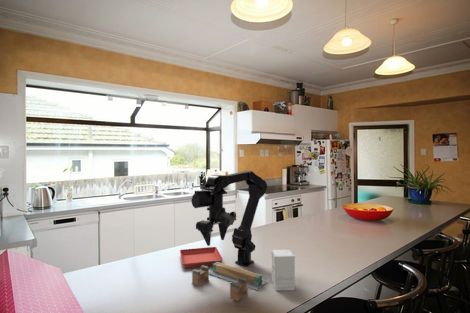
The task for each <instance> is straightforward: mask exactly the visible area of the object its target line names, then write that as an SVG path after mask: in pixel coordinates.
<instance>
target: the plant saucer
mask: <svg viewBox="0 0 470 313" xmlns="http://www.w3.org/2000/svg"><path fill="white" fill-rule="evenodd" d="M179 254H180V260H181V265H182V266H183V267H184V268H185V269H193V268H195V269H196V268H201V266H202V265H204V266H207V267H211V266H212V267H213V264H214V263H216V262H220V263H223V261H224V259H223V257H222V255H221V254H220V252H219V249H218V248H217V246H208V247H197V248H185V249H180V250H179Z"/></svg>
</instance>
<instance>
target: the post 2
mask: <svg viewBox="0 0 470 313" xmlns="http://www.w3.org/2000/svg"><path fill="white" fill-rule="evenodd" d="M229 284H230V285H229V299H230V300H233V301H236V302H239V301H240V300H241V299H242V298H244V297H245V296H247V295H248V288H247V279H244V278H241V277H240V278H238V282H237V283H233V282H229Z"/></svg>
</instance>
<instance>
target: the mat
mask: <svg viewBox="0 0 470 313" xmlns="http://www.w3.org/2000/svg"><path fill="white" fill-rule="evenodd" d="M209 276H212V277H215V278H218V279H222V280H224V281H227V282H229V283H232V282H233V283H237V282H238V279H235V278H232V277H229V276H226V275H223V274H220V273H217V272H213V269H211V270H209ZM267 283H268V281H266V280H263V279H262V284H260V285H259V286H256V285H253V284H250V283H247V289H250V290H253V291H259V290H260V289H261V288H263V287H264V286H265V285H266V284H267Z"/></svg>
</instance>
